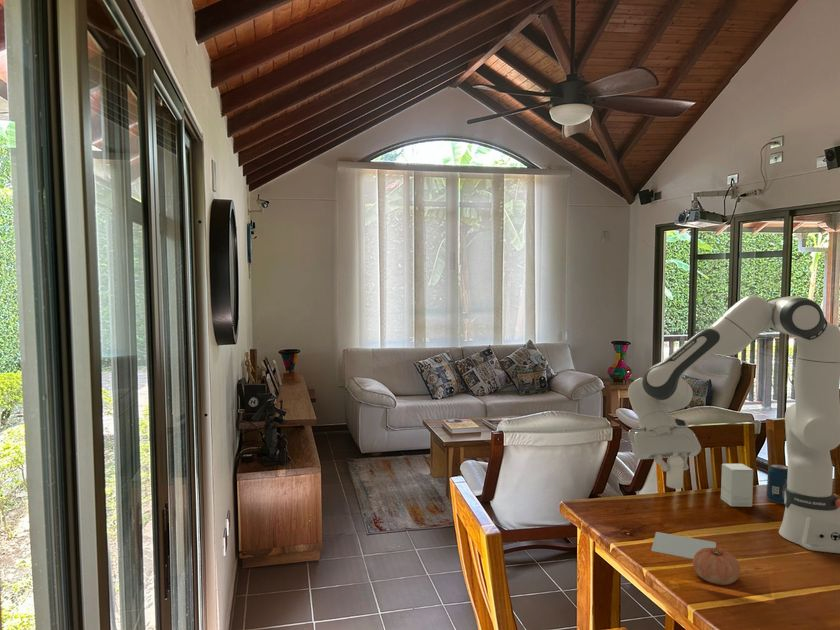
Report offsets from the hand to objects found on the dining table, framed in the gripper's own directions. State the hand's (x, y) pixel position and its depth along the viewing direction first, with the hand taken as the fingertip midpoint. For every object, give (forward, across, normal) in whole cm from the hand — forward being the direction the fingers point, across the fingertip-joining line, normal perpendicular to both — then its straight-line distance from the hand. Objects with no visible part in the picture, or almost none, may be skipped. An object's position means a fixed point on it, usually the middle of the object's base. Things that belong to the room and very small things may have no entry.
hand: (676, 469), depth 172 cm
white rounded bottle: (+3, 0, +4) cm, 5 cm away
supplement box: (-2, +40, +32) cm, 52 cm away
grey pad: (+18, 0, +12) cm, 22 cm away
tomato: (+30, -3, 0) cm, 31 cm away
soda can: (-1, +56, +32) cm, 64 cm away
